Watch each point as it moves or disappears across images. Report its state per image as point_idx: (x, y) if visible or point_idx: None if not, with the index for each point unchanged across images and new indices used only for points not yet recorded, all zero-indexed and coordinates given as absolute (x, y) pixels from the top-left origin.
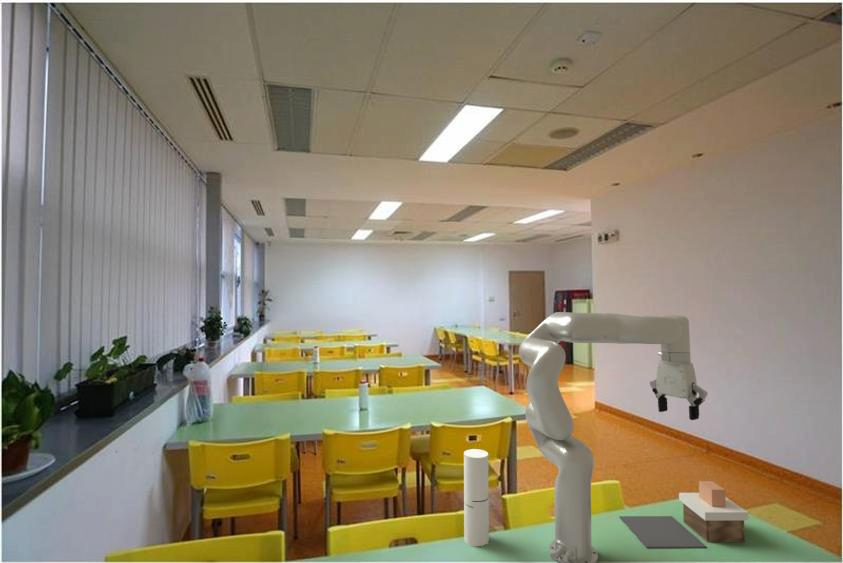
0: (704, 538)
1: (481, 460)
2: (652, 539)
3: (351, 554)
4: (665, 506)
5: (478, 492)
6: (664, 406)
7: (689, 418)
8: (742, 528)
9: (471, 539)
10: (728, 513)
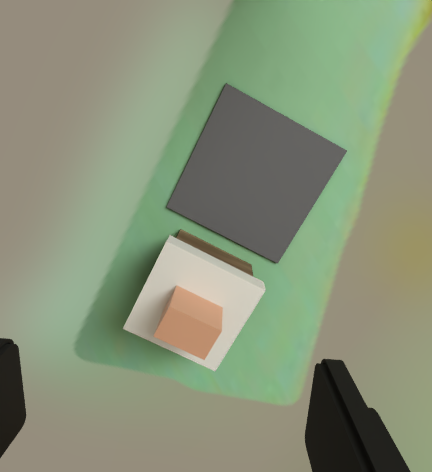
0: (186, 232)
1: None
2: (238, 126)
3: None
4: (314, 296)
5: None
6: (321, 445)
7: (13, 345)
8: None
9: None
10: (142, 289)
